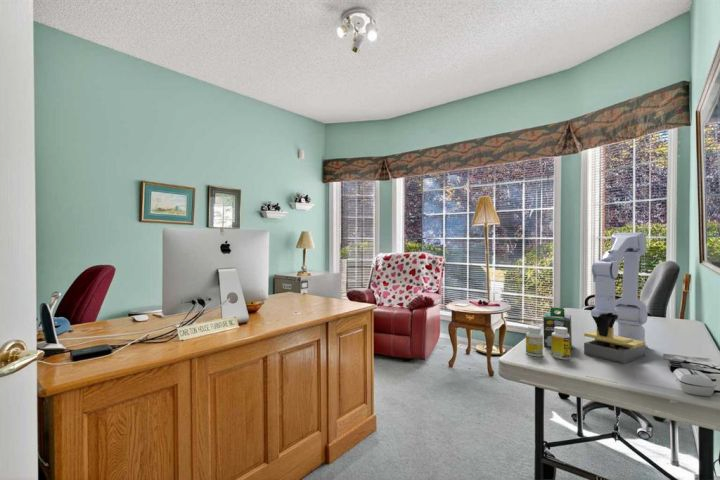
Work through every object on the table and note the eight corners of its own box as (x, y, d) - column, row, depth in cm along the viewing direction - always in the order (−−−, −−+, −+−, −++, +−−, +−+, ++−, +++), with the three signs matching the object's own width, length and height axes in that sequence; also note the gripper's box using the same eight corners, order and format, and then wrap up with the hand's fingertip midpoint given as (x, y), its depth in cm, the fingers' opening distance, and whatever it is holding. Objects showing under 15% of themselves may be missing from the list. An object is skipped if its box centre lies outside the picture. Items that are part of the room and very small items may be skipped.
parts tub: (607, 346, 132) (607, 333, 132) (645, 355, 122) (645, 341, 122) (584, 353, 124) (584, 339, 124) (623, 363, 113) (623, 348, 113)
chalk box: (571, 344, 135) (571, 306, 135) (571, 350, 127) (571, 310, 127) (544, 341, 140) (545, 304, 140) (542, 346, 132) (543, 307, 132)
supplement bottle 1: (540, 357, 118) (540, 329, 119) (523, 354, 122) (524, 327, 122) (544, 354, 123) (544, 327, 123) (528, 351, 126) (528, 324, 126)
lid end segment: (594, 334, 127) (594, 322, 127) (632, 342, 117) (633, 329, 117) (584, 336, 124) (584, 323, 124) (623, 344, 113) (623, 330, 113)
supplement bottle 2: (565, 361, 115) (565, 330, 116) (548, 356, 120) (548, 327, 120) (573, 358, 118) (573, 328, 119) (556, 353, 123) (556, 325, 123)
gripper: (607, 299, 112) (607, 341, 112) (628, 296, 120) (628, 335, 120) (584, 296, 118) (584, 336, 118) (605, 293, 126) (605, 330, 126)
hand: (604, 335), depth 119 cm, fingers closed on lid end segment, 2 cm apart
